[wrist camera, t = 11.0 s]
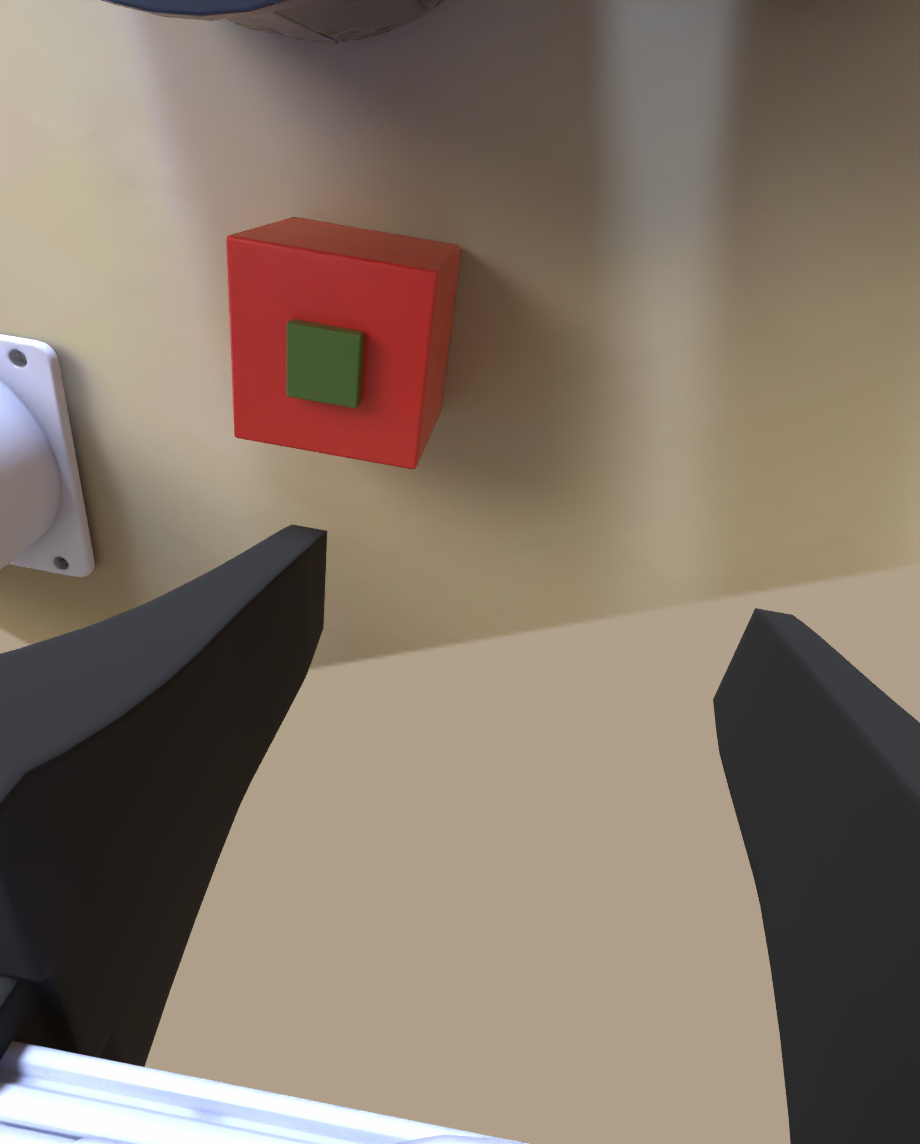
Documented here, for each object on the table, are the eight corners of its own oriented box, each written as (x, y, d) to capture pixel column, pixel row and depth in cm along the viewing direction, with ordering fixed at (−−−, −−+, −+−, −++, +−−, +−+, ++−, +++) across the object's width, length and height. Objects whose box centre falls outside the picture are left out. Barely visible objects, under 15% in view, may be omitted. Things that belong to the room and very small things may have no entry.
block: (290, 385, 20) (226, 444, 16) (291, 216, 17) (215, 237, 14) (440, 412, 20) (413, 478, 16) (462, 245, 17) (435, 275, 13)
